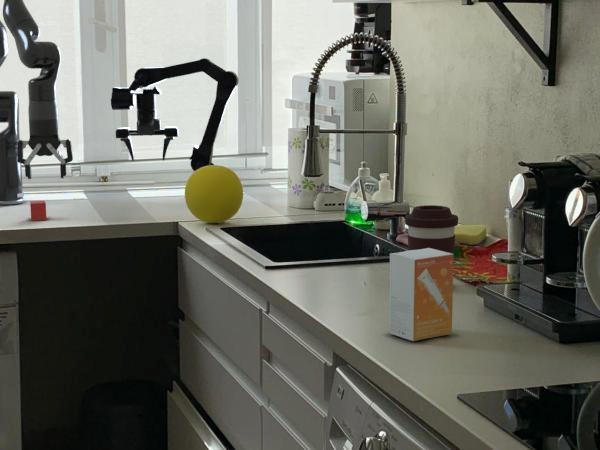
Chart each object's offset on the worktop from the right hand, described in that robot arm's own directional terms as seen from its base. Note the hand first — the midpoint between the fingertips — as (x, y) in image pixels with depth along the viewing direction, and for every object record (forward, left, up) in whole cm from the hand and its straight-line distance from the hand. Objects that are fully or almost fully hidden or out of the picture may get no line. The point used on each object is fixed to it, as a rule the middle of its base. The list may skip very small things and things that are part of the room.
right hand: (148, 160), depth 320 cm
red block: (+46, +12, -11) cm, 48 cm away
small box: (+64, +160, -11) cm, 172 cm away
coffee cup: (+37, +140, -11) cm, 145 cm away
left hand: (+44, +14, 0) cm, 46 cm away
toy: (+17, +52, -11) cm, 56 cm away
